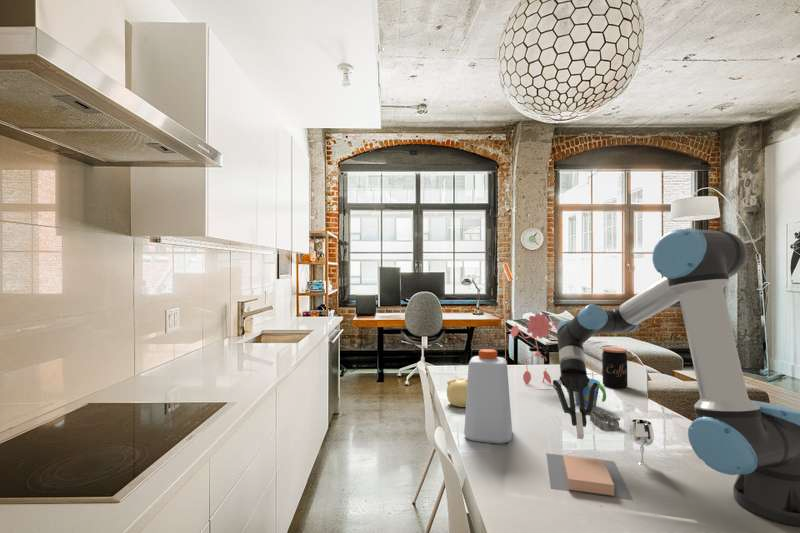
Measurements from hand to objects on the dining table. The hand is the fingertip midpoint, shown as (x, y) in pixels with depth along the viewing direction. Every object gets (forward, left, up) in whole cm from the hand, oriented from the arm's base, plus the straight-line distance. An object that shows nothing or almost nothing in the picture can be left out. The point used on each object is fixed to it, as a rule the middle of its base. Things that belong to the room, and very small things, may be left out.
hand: (580, 436), depth 113 cm
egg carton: (+18, -36, -9) cm, 41 cm away
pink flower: (+66, -56, -8) cm, 87 cm away
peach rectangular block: (-2, +1, -6) cm, 6 cm away
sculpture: (+60, -4, -9) cm, 61 cm away
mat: (-4, +4, -8) cm, 10 cm away
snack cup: (+35, -49, -8) cm, 61 cm away
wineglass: (-8, -16, -8) cm, 19 cm away
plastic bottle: (+30, +7, -8) cm, 32 cm away
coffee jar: (+48, -87, -8) cm, 100 cm away
